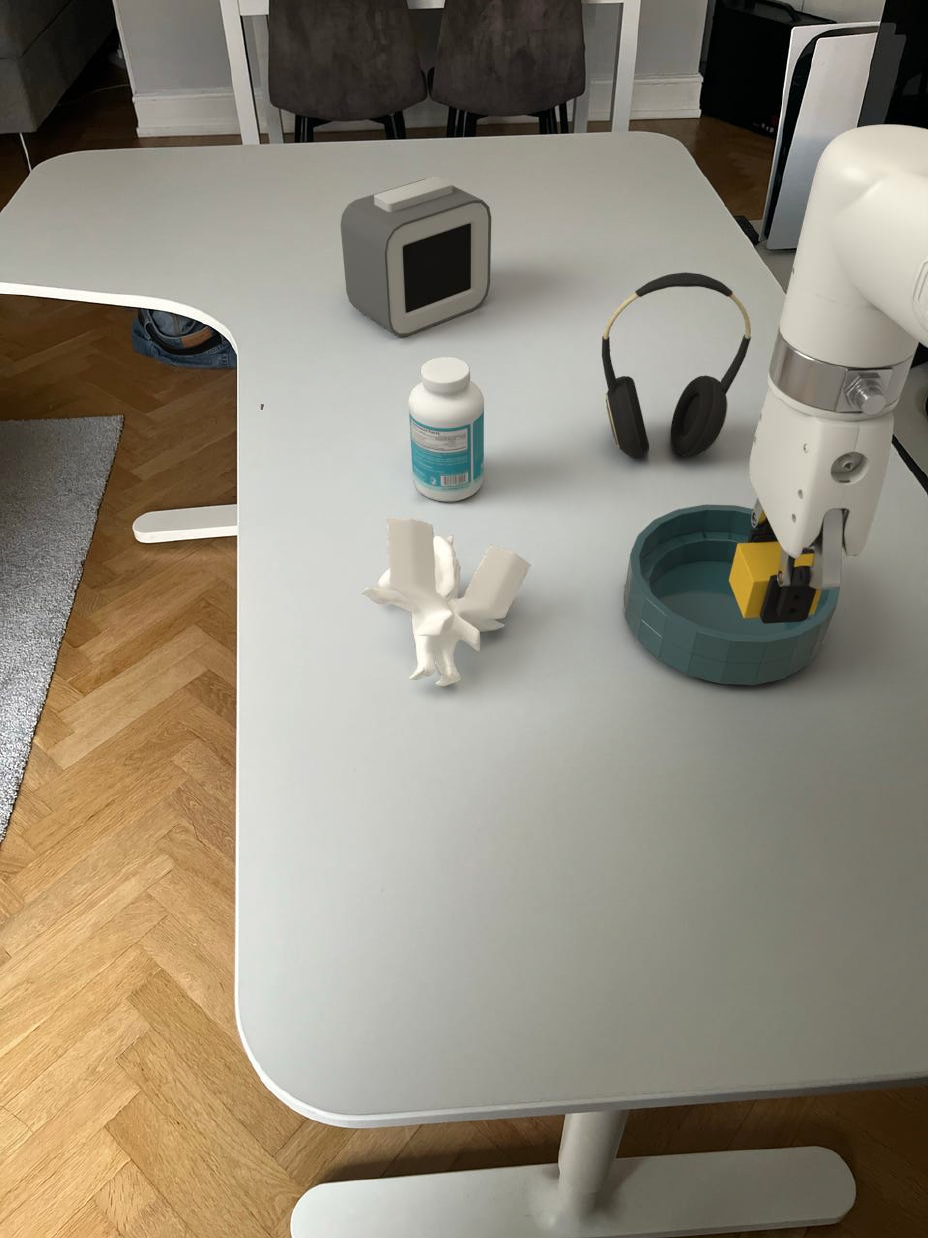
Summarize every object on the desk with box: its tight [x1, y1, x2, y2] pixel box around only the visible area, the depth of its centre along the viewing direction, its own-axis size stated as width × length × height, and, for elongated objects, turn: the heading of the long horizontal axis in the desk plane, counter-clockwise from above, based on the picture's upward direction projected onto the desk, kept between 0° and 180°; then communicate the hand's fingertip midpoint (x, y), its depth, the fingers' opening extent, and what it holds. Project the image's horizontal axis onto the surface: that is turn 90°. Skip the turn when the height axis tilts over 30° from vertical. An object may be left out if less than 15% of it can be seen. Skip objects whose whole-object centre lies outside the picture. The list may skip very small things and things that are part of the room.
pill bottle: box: [408, 356, 485, 502], centre depth 99 cm, size 8×7×14 cm
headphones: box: [601, 271, 752, 458], centre depth 101 cm, size 9×15×20 cm, turn 90°
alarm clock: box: [340, 175, 492, 338], centre depth 126 cm, size 16×11×16 cm
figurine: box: [360, 516, 532, 687], centre depth 85 cm, size 15×12×14 cm
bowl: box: [623, 504, 841, 686], centre depth 87 cm, size 18×18×6 cm
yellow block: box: [729, 542, 822, 618], centre depth 69 cm, size 4×5×4 cm
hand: (772, 594), depth 70 cm, fingers closed on yellow block, 4 cm apart
